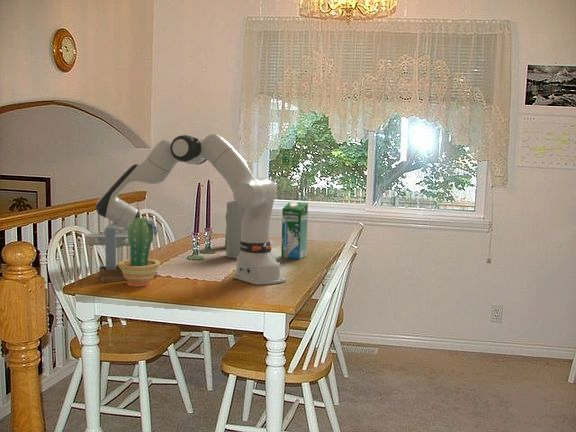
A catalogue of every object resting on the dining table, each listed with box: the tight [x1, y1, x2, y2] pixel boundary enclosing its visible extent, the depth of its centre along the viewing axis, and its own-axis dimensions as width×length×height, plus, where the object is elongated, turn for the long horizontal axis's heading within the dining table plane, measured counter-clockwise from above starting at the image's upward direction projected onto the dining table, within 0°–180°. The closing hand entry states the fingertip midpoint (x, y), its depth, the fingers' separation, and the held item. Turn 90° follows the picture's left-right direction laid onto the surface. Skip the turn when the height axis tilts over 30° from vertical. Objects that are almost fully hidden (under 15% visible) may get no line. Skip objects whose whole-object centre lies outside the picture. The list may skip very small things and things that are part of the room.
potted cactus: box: [117, 216, 161, 288], centre depth 247 cm, size 15×15×25 cm
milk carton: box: [280, 201, 309, 260], centre depth 306 cm, size 9×9×25 cm
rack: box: [97, 264, 158, 283], centre depth 257 cm, size 7×21×4 cm, turn 120°
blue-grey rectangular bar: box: [104, 226, 117, 270], centre depth 253 cm, size 4×4×18 cm
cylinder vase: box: [225, 200, 246, 260], centre depth 303 cm, size 12×12×25 cm
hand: (110, 243), depth 255 cm, fingers open, 8 cm apart
